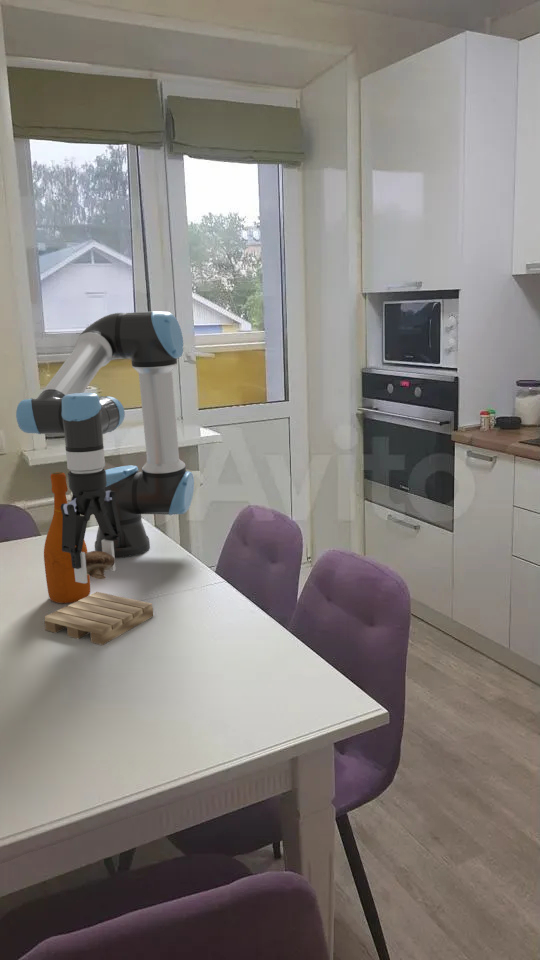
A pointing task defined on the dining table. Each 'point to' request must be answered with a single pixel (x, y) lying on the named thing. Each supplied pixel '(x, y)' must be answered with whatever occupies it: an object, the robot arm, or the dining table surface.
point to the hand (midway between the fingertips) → (95, 575)
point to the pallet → (99, 617)
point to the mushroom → (98, 563)
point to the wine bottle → (61, 553)
